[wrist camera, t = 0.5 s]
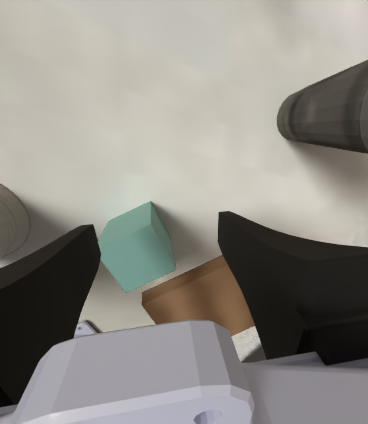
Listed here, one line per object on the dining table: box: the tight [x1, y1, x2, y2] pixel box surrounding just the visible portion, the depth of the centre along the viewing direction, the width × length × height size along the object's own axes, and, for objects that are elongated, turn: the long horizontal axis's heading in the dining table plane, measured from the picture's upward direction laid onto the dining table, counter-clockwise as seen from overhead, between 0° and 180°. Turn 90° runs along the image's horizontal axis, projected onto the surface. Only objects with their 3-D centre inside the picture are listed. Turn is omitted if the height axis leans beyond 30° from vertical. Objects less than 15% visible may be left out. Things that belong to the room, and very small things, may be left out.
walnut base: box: [142, 255, 255, 336], centre depth 26 cm, size 12×12×2 cm
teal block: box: [98, 201, 176, 293], centre depth 19 cm, size 5×5×6 cm
